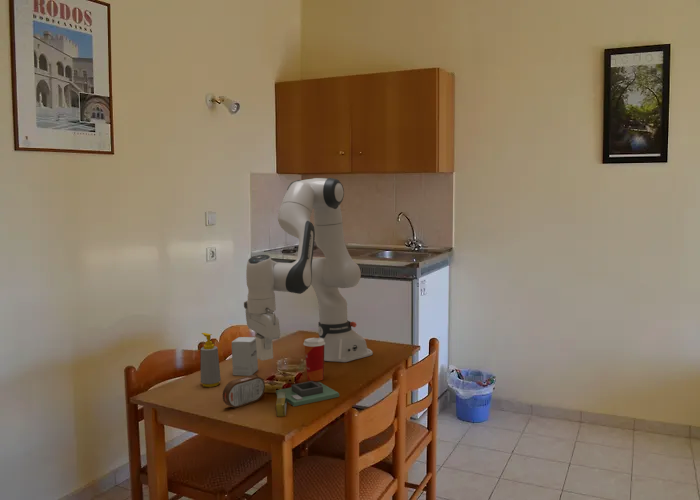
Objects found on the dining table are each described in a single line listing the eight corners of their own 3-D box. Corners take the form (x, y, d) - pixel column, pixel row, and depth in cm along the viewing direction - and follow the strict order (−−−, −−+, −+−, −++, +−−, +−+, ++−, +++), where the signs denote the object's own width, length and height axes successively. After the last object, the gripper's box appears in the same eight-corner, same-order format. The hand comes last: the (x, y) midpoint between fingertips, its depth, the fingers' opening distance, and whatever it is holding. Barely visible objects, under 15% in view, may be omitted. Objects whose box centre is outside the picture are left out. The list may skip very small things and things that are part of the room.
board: (319, 385, 218) (319, 376, 218) (339, 396, 206) (338, 387, 206) (276, 393, 210) (275, 384, 210) (293, 406, 198) (293, 396, 198)
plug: (268, 355, 212) (266, 331, 211) (273, 358, 209) (272, 334, 208) (256, 357, 210) (255, 333, 209) (261, 360, 207) (260, 336, 206)
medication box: (278, 403, 202) (277, 391, 202) (286, 402, 202) (286, 390, 202) (276, 417, 190) (275, 404, 190) (285, 416, 190) (285, 403, 190)
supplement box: (251, 376, 230) (250, 341, 229) (232, 375, 232) (230, 341, 230) (258, 370, 237) (257, 336, 236) (239, 369, 239) (238, 336, 238)
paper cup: (310, 374, 230) (309, 336, 229) (329, 376, 227) (328, 338, 226) (300, 381, 223) (299, 341, 222) (320, 383, 220) (319, 343, 219)
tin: (261, 396, 208) (260, 371, 208) (267, 398, 206) (266, 373, 205) (222, 409, 198) (221, 382, 197) (228, 411, 196) (227, 384, 195)
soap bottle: (212, 380, 227) (210, 330, 225) (225, 383, 222) (222, 333, 220) (196, 385, 222) (193, 334, 220) (208, 389, 217) (206, 337, 215)
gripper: (283, 309, 200) (286, 352, 202) (259, 299, 218) (261, 339, 219) (265, 312, 197) (267, 356, 199) (241, 302, 215) (244, 342, 216)
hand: (264, 347), depth 209 cm, fingers closed on plug, 4 cm apart
